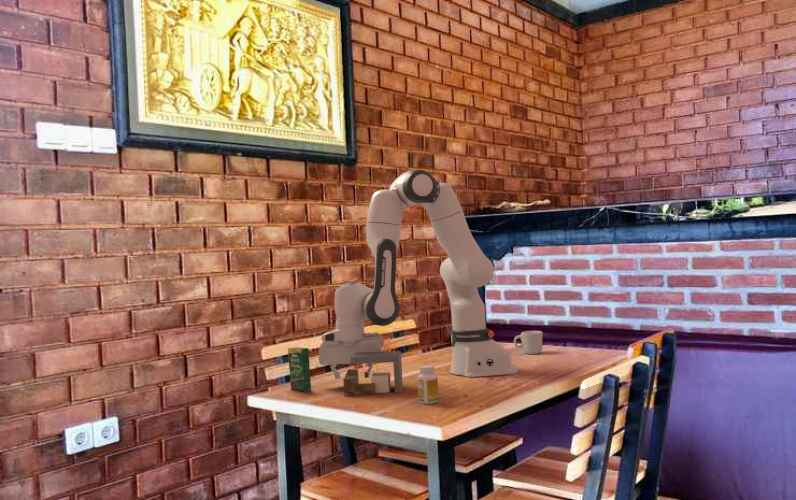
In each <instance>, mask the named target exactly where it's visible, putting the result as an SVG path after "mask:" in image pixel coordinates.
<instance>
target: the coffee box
mask: <svg viewBox="0 0 796 500" xmlns="http://www.w3.org/2000/svg"><path fill="white" fill-rule="evenodd" d="M287 351H288V352H287V353H288V354H287V355H288V367H289V379H290V380H289V381H290V390H294V391H298V392H304V393H306V392H311V391H312V386H311V371H310V370H311V369H310V366H311V365H310V355H309V354H310V352H309V351H310V350H309V348H308V347H298V346H292V347H288V348H287Z"/></svg>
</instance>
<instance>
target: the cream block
mask: <svg viewBox="0 0 796 500" xmlns="http://www.w3.org/2000/svg"><path fill="white" fill-rule="evenodd" d="M370 378H371V379H370V380H371V383H375V394H379V393H380V394H381V393H390V391H391V389H392V386H391V372H373V373H372V375H370Z"/></svg>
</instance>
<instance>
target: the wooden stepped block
mask: <svg viewBox="0 0 796 500" xmlns="http://www.w3.org/2000/svg"><path fill="white" fill-rule="evenodd" d="M359 380H360V379H359V368H348V369H347V371H346V373H345V375H344V377H343V379H342V381H343V383H342V384H343V396H344V397H352V396H353V397H355V396H356V397H357V396H358V397H359V396H375V395H376V393H375V383H372V382H369V383H366V382H365V383H360V381H359Z"/></svg>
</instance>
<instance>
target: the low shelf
mask: <svg viewBox="0 0 796 500" xmlns="http://www.w3.org/2000/svg"><path fill="white" fill-rule="evenodd" d="M362 363H364V364H368V363H373V364H384V363H385V364H387V363H393V379H394V394H401V392H402V390H403V388H404V385H403V382H404V381H403V367H402V364H403V363H402V351H401V350H388V351H383V352H360V353H354V354H353V355H352V356H351V364H352V365H357V364H358V365H359V364H360V365H361V364H362ZM351 364H350V365H351Z"/></svg>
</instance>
